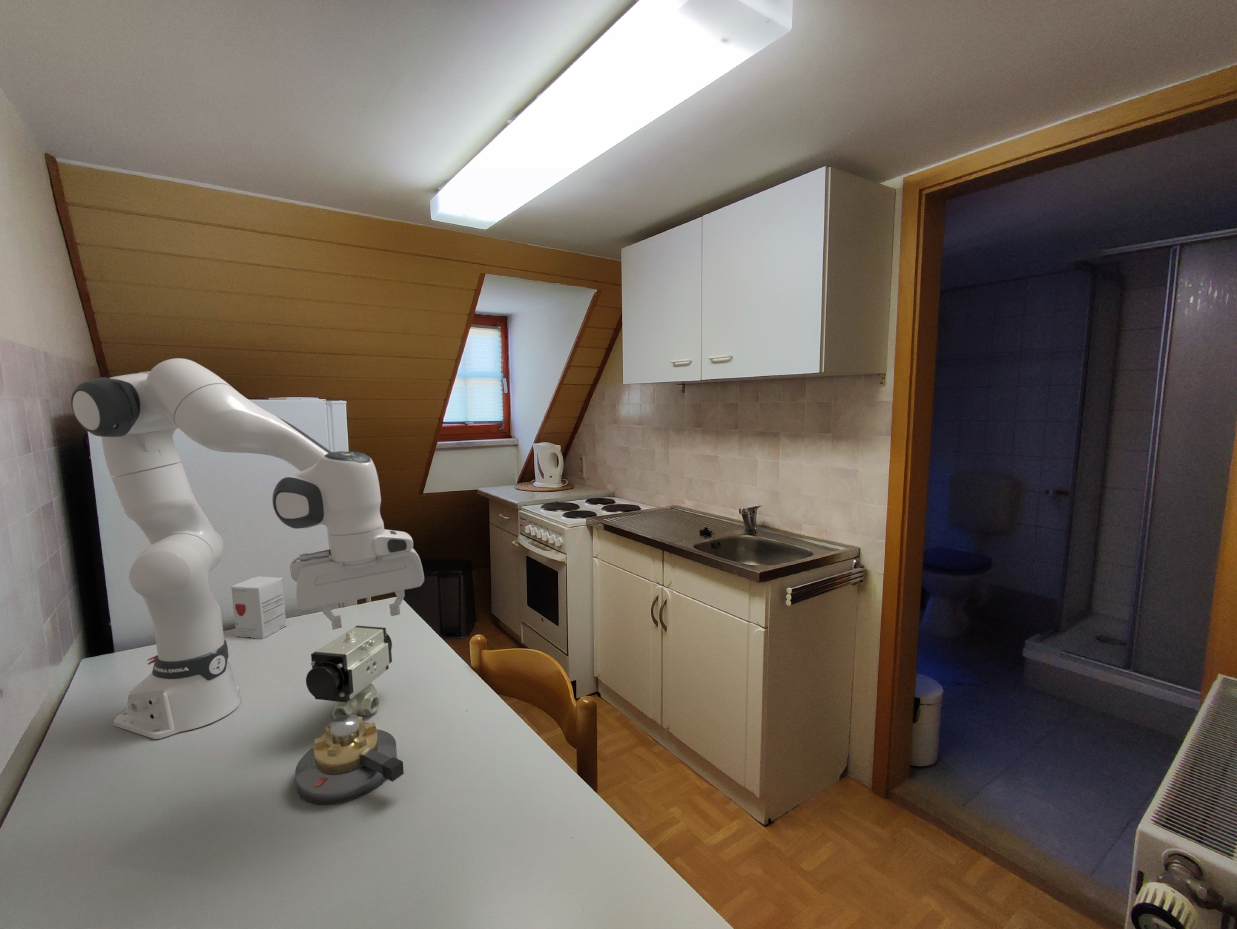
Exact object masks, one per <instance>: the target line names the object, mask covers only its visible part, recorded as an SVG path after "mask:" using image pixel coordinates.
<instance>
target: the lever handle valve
mask: <svg viewBox="0 0 1237 929" xmlns="http://www.w3.org/2000/svg"><path fill="white" fill-rule="evenodd" d="M358 718H359V731H360V735H359V737H357V738H356V739H354V740H353V742H351V743H348V744H344V745H340V744H333V743H332V736H331V723H330V724H327V725H325V727H324V728H325V729H324V730H325V732H324V733H323V734H321V735H320V736H319V737H318V738H314V739H313V740H314V745H313V747H314V757H315V766H316V768H317V769H318V770H319V771H320V772H323V773H327V774H338V773H344V772H348V771H351V770H354V769H356V768H358V767H360V766H362V765H365V766H367V767H369V768H371V769H373V770H375V771H377V772H379V773H381V774H383V777H384V778H386V779H387V780H388V781H390V782H395V781H396V780H397V779H398V778H400V777H401V776H403V775H404V774H405V772H404V761H403V760H400V759H398V757H397V758H394V757H393V758H390V757H388V756H386V755H383V754H381V753H379V752H377V750H378V738H377V729H378V728H377V727H376V726H377V725H376V722H375V721H373V722H366V721H365V722H364V721H363V715H360V716H358Z"/></svg>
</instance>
